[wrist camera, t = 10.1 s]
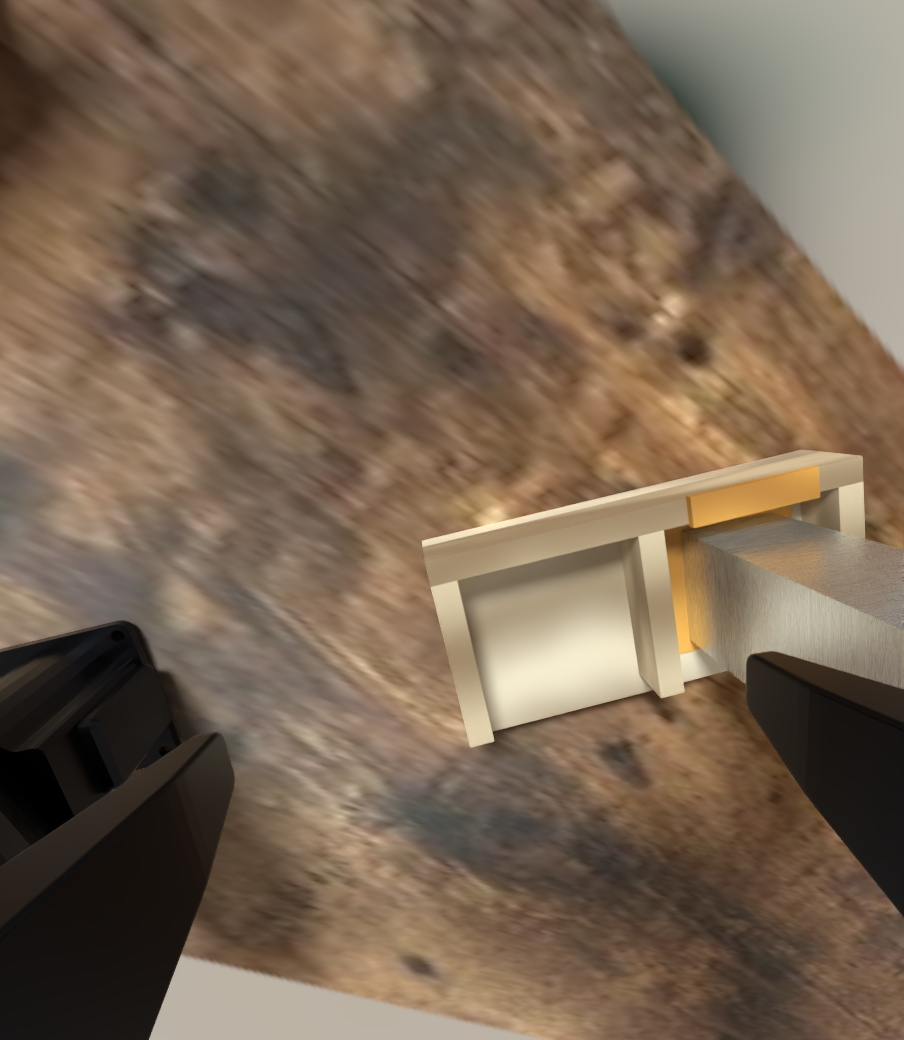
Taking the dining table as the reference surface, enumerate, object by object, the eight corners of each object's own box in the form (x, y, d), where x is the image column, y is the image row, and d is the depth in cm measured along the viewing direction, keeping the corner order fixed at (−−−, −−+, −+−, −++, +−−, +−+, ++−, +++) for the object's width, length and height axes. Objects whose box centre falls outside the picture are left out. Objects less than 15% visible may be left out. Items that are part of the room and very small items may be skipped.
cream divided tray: (813, 635, 24) (875, 669, 21) (466, 723, 24) (476, 773, 20) (801, 447, 22) (869, 454, 19) (421, 538, 21) (424, 561, 18)
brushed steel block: (689, 639, 22) (1059, 938, 10) (680, 531, 21) (1085, 711, 9) (778, 619, 23) (1253, 887, 10) (774, 511, 22) (1303, 660, 9)
